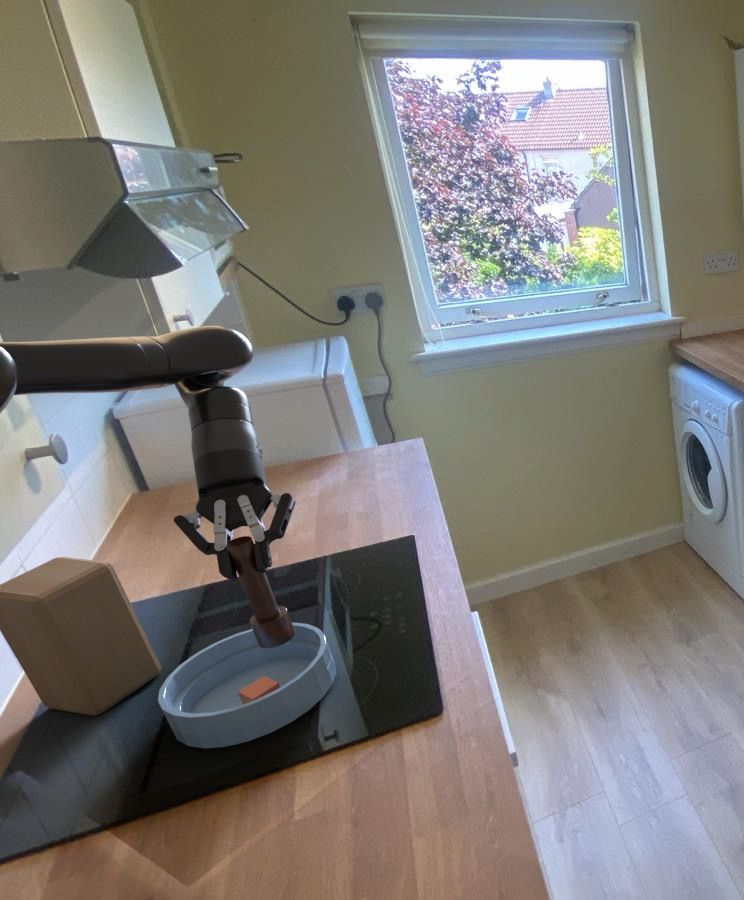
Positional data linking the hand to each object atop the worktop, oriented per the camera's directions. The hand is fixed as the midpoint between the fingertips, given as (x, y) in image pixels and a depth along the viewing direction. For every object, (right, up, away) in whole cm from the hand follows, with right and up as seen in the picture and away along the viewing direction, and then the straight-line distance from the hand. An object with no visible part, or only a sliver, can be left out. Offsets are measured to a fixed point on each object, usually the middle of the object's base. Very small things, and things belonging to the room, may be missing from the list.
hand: (247, 574), depth 97 cm
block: (-2, -20, +6) cm, 20 cm away
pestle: (-1, -10, +6) cm, 12 cm away
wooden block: (-29, -19, +10) cm, 36 cm away
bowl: (-4, -19, +8) cm, 21 cm away
